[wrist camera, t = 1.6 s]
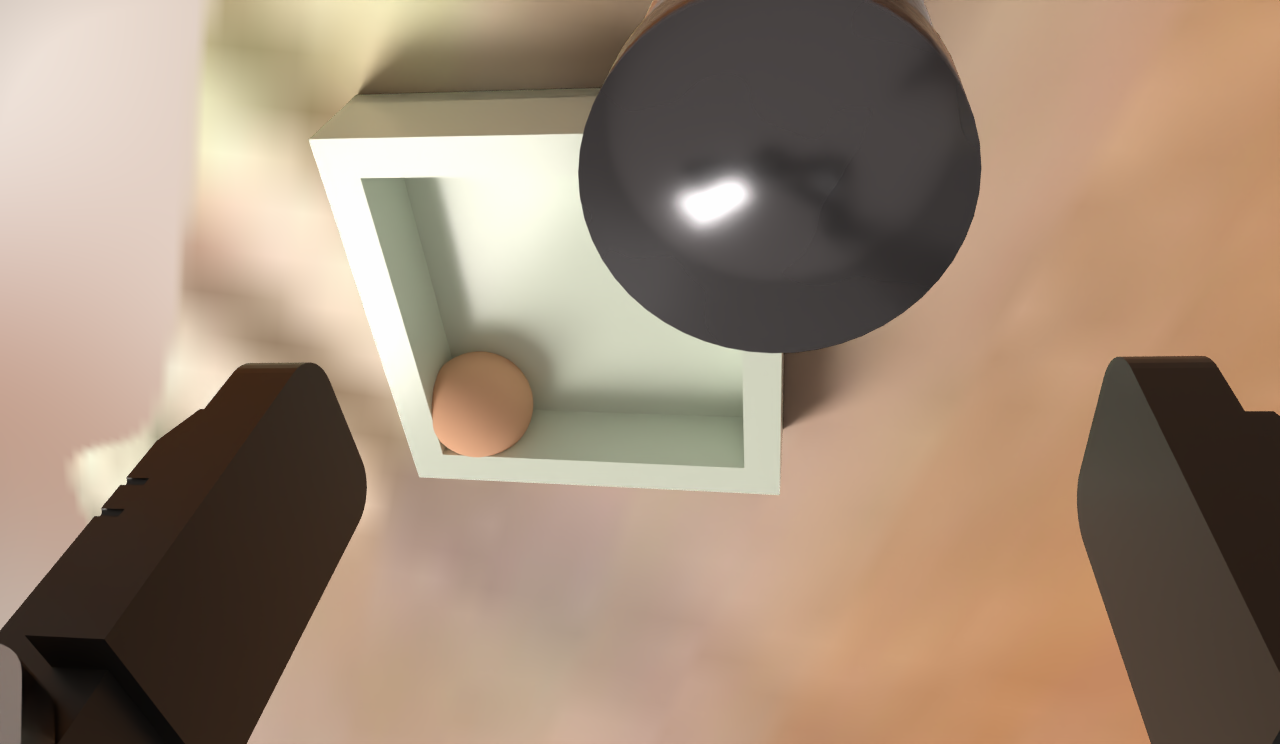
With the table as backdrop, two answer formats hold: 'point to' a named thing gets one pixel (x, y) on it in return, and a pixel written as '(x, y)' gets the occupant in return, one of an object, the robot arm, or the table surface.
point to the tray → (531, 299)
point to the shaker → (780, 167)
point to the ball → (481, 404)
